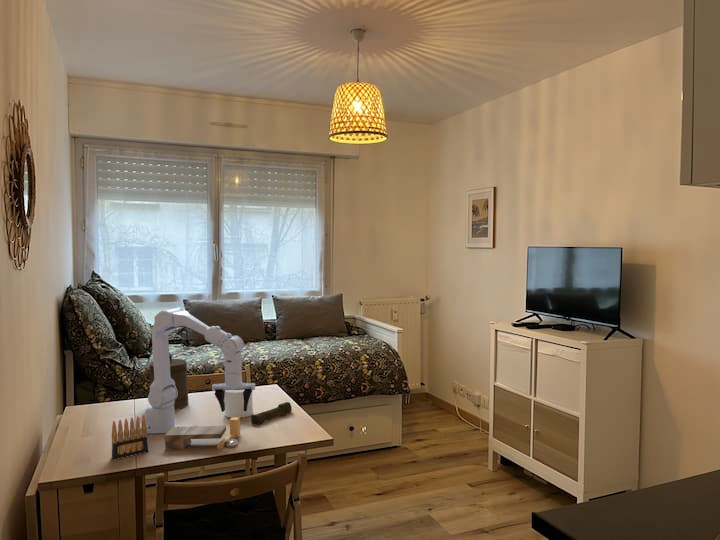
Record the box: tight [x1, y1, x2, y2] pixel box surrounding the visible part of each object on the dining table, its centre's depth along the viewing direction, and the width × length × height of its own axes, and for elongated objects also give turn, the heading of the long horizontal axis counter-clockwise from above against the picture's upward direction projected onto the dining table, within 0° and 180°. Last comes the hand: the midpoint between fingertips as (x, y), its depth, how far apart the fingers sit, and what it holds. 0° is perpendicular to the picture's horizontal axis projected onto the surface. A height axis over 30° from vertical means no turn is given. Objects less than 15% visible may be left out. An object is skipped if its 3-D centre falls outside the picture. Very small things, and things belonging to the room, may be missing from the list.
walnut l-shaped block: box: [164, 425, 227, 451], centre depth 183 cm, size 18×8×5 cm, turn 91°
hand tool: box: [250, 401, 293, 426], centre depth 209 cm, size 19×4×5 cm, turn 138°
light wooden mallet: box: [216, 417, 241, 449], centre depth 186 cm, size 3×13×6 cm, turn 168°
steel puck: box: [224, 438, 239, 448], centre depth 182 cm, size 4×4×2 cm
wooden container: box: [148, 352, 189, 411], centre depth 228 cm, size 15×15×22 cm
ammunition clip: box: [111, 414, 149, 461], centre depth 175 cm, size 11×2×12 cm, turn 125°
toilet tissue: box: [224, 390, 254, 419], centre depth 216 cm, size 11×12×10 cm
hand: (234, 410), depth 191 cm, fingers open, 7 cm apart
